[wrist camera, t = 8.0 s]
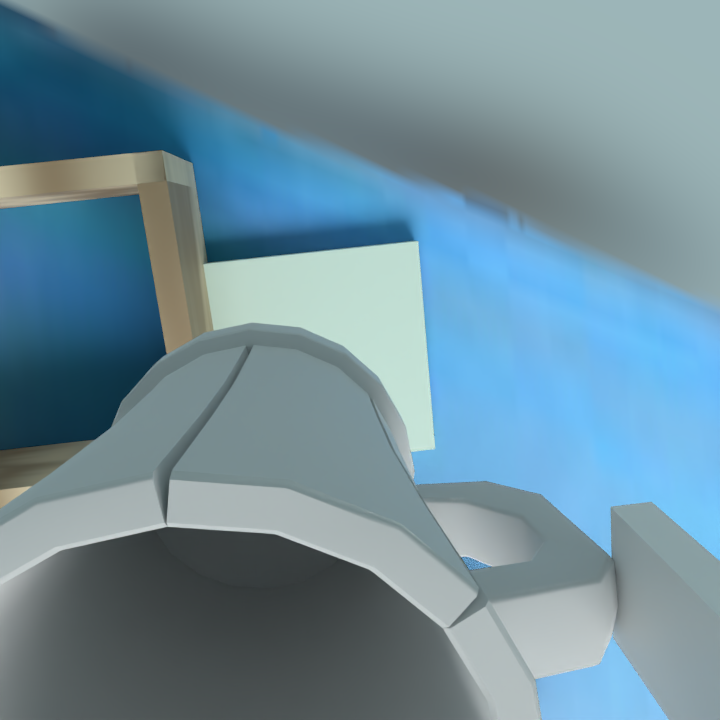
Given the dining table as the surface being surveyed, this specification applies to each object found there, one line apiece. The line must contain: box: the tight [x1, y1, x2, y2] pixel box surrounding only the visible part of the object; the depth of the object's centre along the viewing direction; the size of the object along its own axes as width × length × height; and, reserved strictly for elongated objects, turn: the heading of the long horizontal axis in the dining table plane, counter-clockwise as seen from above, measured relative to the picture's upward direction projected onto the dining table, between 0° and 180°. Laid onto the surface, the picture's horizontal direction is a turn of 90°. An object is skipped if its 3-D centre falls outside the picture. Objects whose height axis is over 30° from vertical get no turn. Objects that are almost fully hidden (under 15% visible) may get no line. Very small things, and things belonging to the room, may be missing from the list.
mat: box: [203, 241, 435, 452], centre depth 33 cm, size 11×11×1 cm
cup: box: [0, 322, 618, 720], centre depth 14 cm, size 10×9×12 cm
